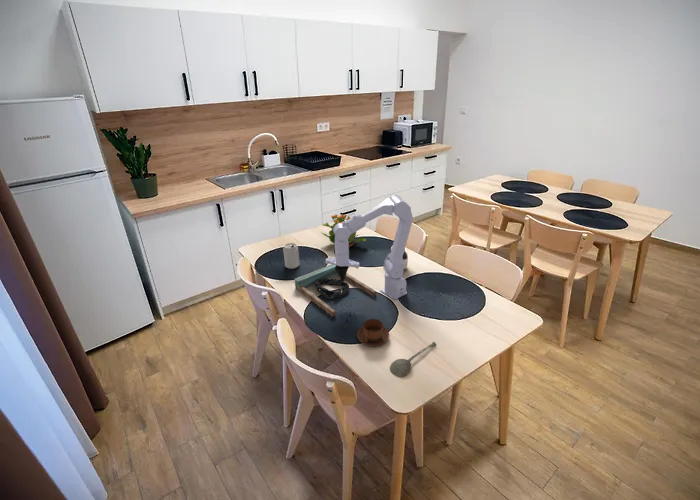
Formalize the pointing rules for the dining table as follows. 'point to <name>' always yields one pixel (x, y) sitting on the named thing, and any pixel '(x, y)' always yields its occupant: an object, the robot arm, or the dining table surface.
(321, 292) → the cable
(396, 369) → the soupspoon
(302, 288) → the guide channel
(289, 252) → the can
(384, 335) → the cup and saucer
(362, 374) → the dining table surface
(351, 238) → the potted flower
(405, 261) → the spread jar
